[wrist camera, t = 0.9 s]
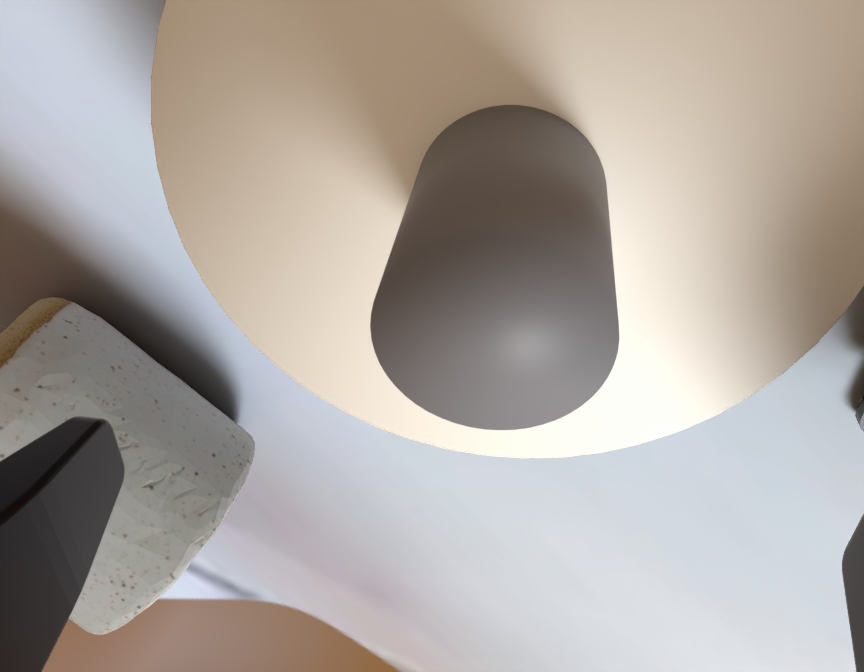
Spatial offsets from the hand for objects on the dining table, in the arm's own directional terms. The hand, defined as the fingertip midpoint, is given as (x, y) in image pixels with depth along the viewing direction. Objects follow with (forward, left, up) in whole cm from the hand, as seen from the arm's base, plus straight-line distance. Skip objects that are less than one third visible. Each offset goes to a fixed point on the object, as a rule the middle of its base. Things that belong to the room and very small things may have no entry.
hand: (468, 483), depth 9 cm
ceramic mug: (+13, +12, -13) cm, 22 cm away
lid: (0, 0, -8) cm, 8 cm away
